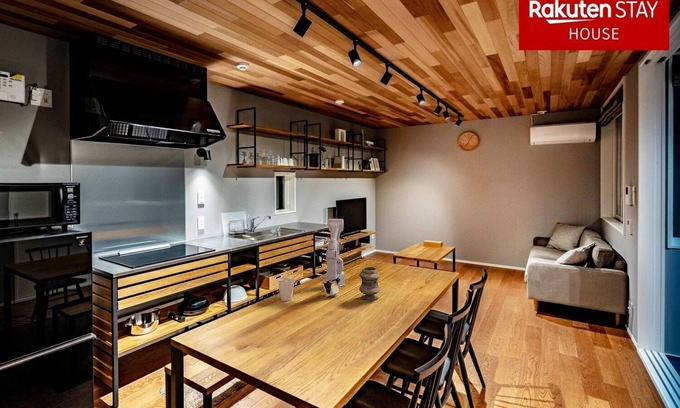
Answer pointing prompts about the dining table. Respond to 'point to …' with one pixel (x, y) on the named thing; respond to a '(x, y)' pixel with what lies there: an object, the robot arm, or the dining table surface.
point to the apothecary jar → (369, 283)
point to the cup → (286, 288)
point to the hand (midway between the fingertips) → (331, 291)
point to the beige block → (332, 289)
